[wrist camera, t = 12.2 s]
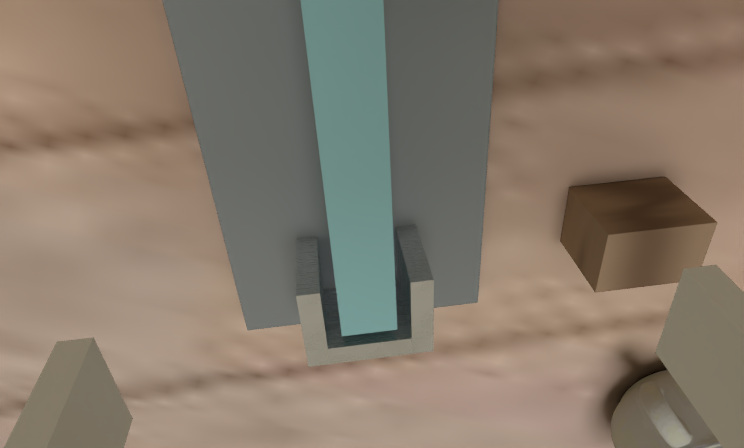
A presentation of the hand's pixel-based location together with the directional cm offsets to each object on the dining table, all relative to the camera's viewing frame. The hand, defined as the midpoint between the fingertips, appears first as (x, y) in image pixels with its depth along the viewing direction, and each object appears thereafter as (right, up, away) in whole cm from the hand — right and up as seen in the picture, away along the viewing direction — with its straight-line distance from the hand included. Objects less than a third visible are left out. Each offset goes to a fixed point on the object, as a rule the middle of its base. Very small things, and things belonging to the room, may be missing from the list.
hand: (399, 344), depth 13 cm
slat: (-2, +10, +14) cm, 17 cm away
